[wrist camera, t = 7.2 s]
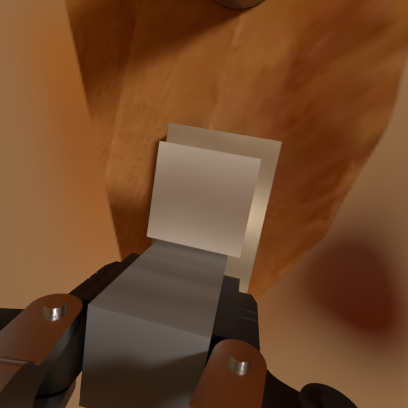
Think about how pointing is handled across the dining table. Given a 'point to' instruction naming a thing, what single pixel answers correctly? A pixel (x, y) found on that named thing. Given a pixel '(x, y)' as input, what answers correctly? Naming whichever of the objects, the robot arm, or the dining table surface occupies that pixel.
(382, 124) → the dining table surface
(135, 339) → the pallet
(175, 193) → the cream block
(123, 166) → the dining table surface
